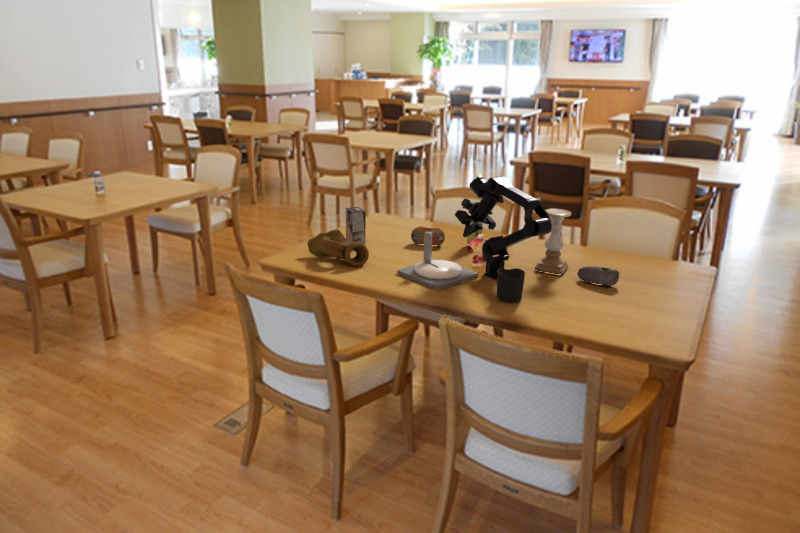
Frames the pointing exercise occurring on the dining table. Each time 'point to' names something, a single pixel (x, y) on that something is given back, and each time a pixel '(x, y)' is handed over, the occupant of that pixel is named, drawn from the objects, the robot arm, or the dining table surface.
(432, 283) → the dial board
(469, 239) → the sauce bottle
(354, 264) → the brown looped sculpture
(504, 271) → the pen holder
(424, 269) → the dial
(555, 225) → the candle holder
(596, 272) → the perforated stone tool
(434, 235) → the tin
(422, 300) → the dining table surface
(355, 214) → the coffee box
